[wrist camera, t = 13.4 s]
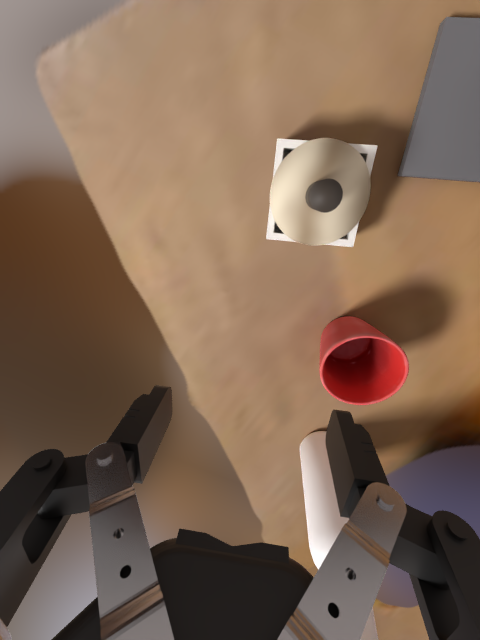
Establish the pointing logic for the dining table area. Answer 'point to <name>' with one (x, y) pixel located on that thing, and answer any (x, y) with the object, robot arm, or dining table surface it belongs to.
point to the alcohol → (323, 507)
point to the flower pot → (360, 362)
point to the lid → (320, 191)
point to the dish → (281, 152)
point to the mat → (448, 108)
